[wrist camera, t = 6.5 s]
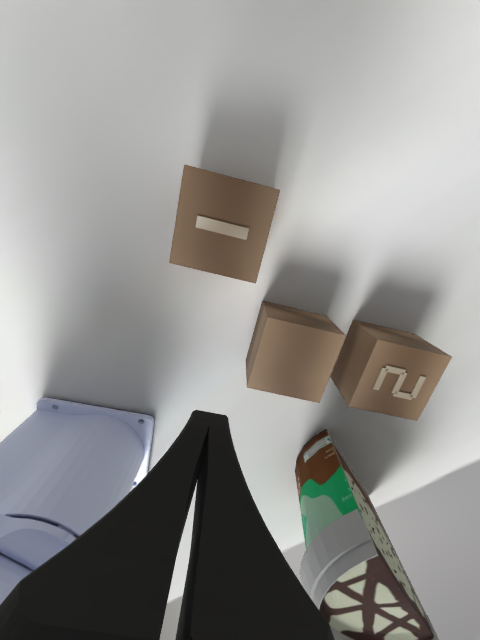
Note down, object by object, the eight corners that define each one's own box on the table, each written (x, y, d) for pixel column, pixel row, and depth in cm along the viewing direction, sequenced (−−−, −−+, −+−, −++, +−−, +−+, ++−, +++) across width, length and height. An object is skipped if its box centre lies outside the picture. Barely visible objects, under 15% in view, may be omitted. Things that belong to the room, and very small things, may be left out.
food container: (256, 446, 24) (267, 588, 15) (318, 417, 23) (373, 548, 14) (318, 528, 27) (359, 686, 18) (374, 505, 26) (449, 660, 17)
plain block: (245, 359, 21) (247, 387, 18) (262, 300, 20) (267, 317, 16) (305, 372, 22) (319, 402, 18) (326, 315, 20) (346, 335, 16)
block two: (329, 375, 22) (349, 407, 18) (352, 319, 20) (378, 340, 16) (387, 388, 22) (418, 421, 18) (413, 333, 21) (453, 357, 17)
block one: (183, 255, 19) (168, 263, 15) (196, 178, 17) (184, 164, 13) (252, 272, 19) (255, 283, 15) (271, 198, 18) (280, 189, 14)
